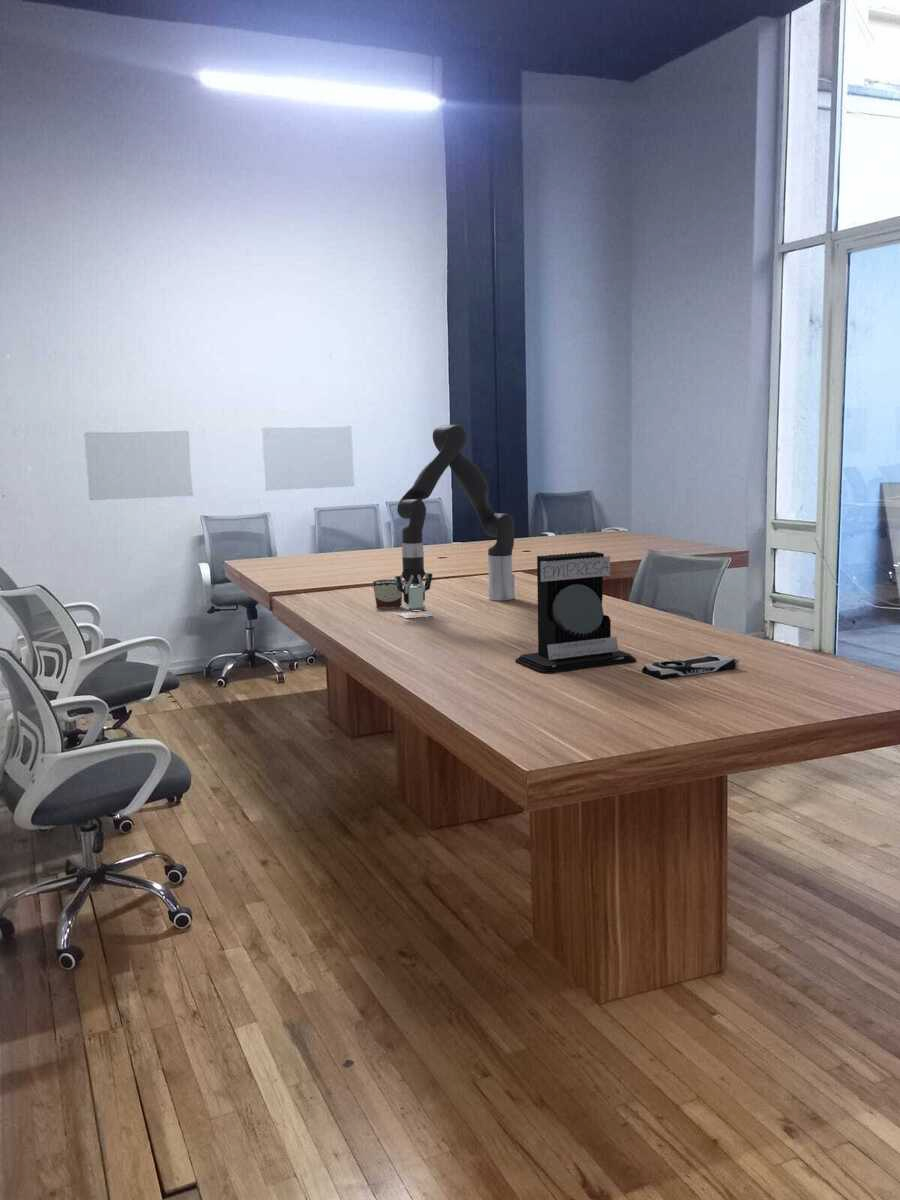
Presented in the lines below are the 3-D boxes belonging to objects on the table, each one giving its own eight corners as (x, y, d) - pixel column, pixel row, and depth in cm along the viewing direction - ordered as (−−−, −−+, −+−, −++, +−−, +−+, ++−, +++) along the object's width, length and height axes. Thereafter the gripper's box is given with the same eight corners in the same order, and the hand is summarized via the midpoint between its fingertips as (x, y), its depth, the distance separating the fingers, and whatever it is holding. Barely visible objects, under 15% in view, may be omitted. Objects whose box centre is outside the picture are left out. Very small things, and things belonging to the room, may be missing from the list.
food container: (407, 604, 386) (406, 578, 385) (405, 607, 380) (404, 581, 379) (375, 605, 388) (374, 579, 386) (372, 607, 382) (371, 581, 380)
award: (543, 675, 270) (542, 563, 265) (511, 661, 287) (510, 556, 282) (640, 662, 282) (640, 555, 277) (604, 649, 299) (603, 548, 294)
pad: (422, 612, 369) (422, 611, 369) (433, 616, 360) (433, 615, 360) (397, 614, 365) (396, 613, 365) (406, 619, 356) (406, 618, 356)
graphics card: (739, 658, 270) (660, 669, 261) (738, 671, 271) (660, 681, 261) (715, 651, 279) (638, 661, 270) (714, 663, 280) (638, 673, 270)
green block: (418, 605, 365) (418, 585, 364) (423, 607, 361) (423, 587, 359) (405, 606, 363) (404, 587, 362) (410, 608, 359) (409, 588, 358)
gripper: (427, 553, 365) (429, 599, 368) (390, 555, 360) (391, 603, 362) (435, 555, 358) (436, 602, 361) (397, 557, 353) (398, 606, 356)
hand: (414, 602), depth 362 cm, fingers closed on green block, 5 cm apart
